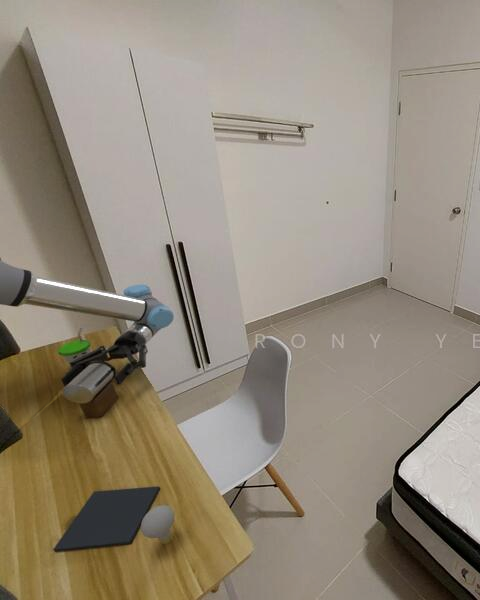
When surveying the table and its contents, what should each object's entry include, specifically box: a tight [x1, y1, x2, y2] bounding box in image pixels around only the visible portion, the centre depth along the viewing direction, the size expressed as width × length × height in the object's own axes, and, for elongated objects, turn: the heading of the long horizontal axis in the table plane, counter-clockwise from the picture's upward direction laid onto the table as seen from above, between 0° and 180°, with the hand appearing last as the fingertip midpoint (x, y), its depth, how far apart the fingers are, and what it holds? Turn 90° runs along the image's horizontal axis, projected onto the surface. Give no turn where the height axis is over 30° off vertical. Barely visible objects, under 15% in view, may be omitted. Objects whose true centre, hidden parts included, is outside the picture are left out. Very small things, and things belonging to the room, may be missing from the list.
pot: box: [62, 361, 118, 404], centre depth 94 cm, size 8×10×8 cm
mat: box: [52, 485, 161, 553], centre depth 72 cm, size 14×12×1 cm
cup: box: [57, 327, 92, 367], centre depth 109 cm, size 8×8×15 cm
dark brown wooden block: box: [78, 379, 119, 419], centre depth 97 cm, size 5×8×7 cm, turn 8°
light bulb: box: [140, 504, 175, 545], centre depth 67 cm, size 5×6×10 cm
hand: (90, 382), depth 94 cm, fingers open, 13 cm apart
